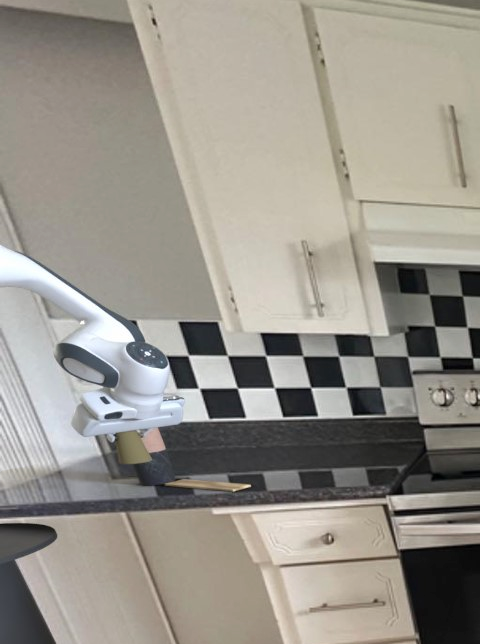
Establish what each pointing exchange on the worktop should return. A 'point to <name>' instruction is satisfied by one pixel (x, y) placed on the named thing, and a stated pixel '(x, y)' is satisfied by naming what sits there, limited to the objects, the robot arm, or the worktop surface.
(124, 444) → the olive green tapered cylinder
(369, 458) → the worktop surface
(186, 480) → the strip
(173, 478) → the travel mug
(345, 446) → the worktop surface
